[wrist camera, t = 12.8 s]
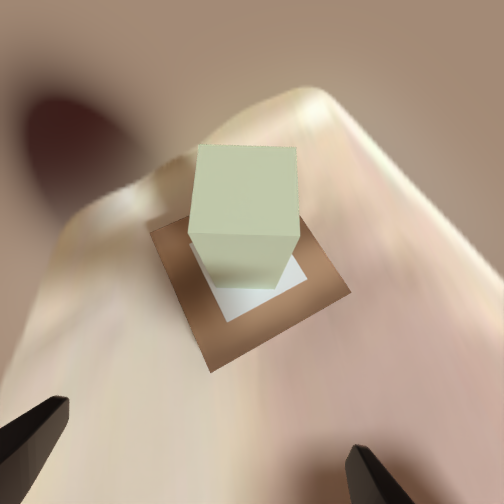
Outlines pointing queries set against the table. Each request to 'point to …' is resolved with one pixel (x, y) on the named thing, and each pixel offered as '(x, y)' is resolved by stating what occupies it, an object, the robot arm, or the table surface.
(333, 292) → the walnut base plate
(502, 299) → the table surface
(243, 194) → the sage pillar
